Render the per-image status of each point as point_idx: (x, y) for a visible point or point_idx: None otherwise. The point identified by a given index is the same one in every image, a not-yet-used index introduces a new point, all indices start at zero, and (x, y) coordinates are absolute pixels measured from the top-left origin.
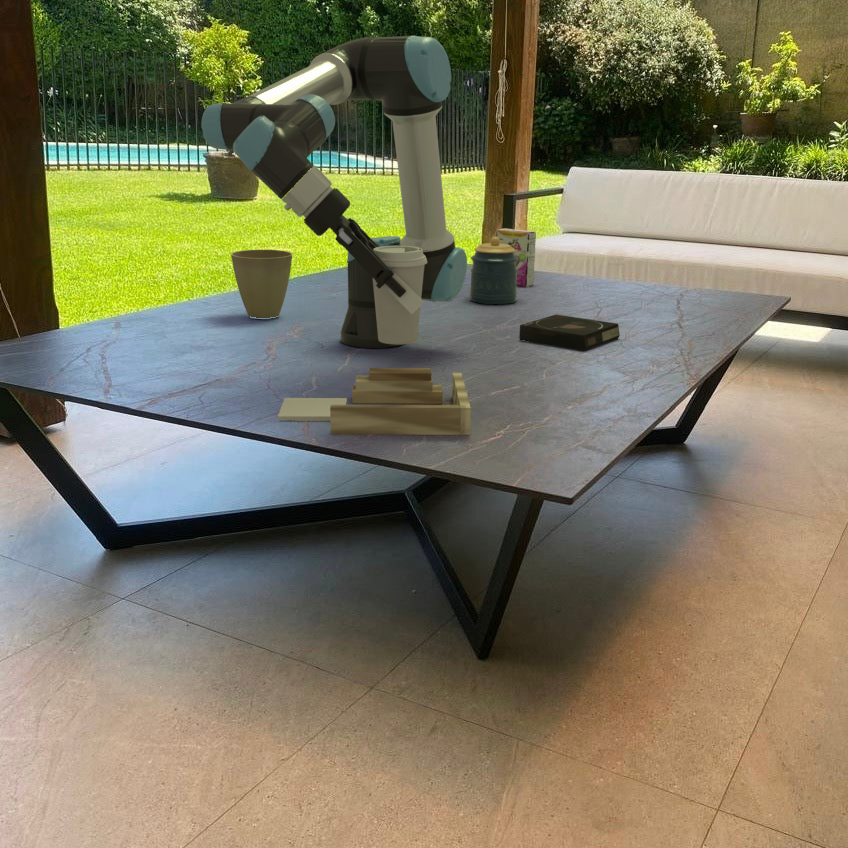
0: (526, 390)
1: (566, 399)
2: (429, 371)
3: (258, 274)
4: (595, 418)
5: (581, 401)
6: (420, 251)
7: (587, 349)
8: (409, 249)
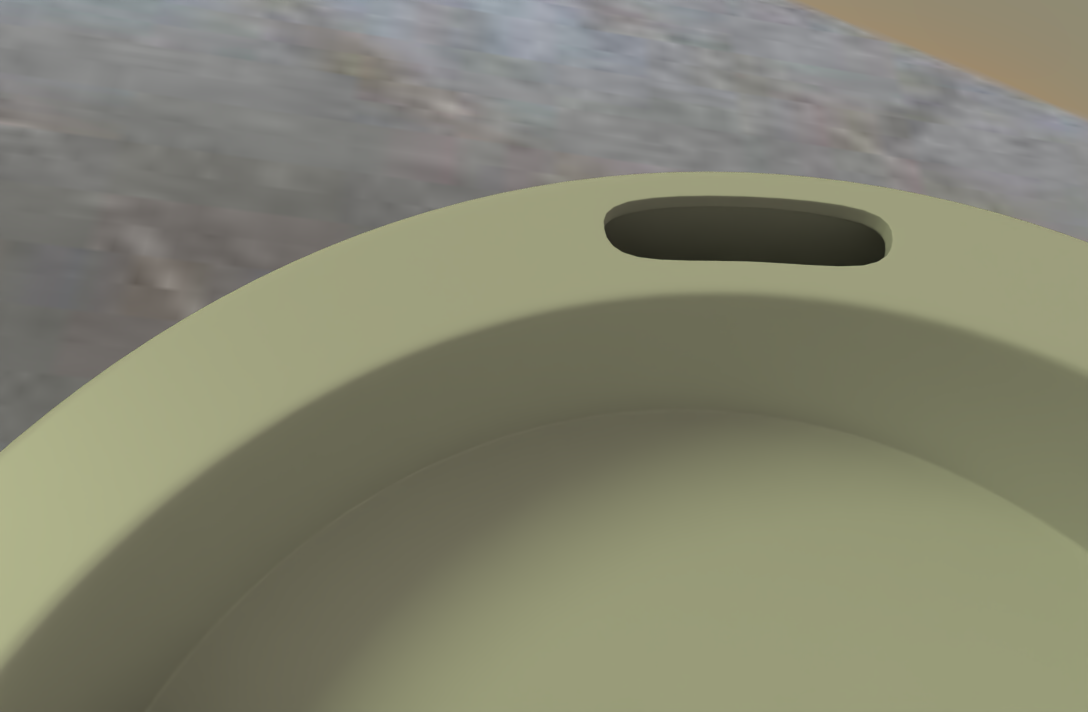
0: (200, 209)
1: (348, 102)
2: None
3: None
4: (585, 59)
5: (379, 64)
6: (1065, 246)
7: None
8: (149, 592)
